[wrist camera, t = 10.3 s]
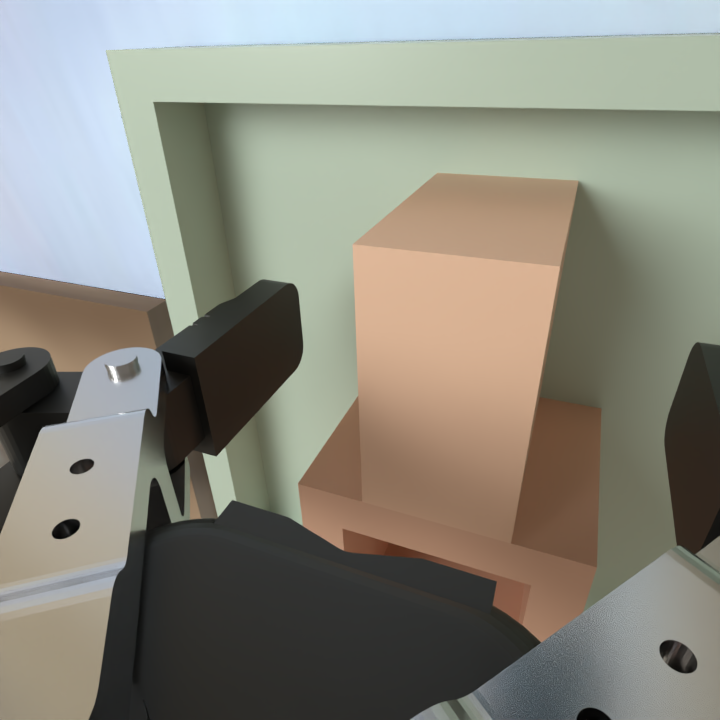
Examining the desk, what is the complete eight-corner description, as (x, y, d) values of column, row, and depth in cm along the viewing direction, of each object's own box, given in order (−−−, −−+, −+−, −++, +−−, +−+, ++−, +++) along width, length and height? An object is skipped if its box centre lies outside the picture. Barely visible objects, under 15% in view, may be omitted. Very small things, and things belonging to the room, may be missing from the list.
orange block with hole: (561, 563, 17) (545, 731, 13) (380, 512, 19) (317, 643, 15) (659, 185, 11) (687, 281, 7) (375, 169, 12) (267, 235, 9)
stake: (-64, 260, 22) (-306, 344, 16) (166, 299, 18) (-44, 428, 12) (35, 472, 29) (-115, 587, 23) (222, 535, 25) (100, 694, 19)
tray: (181, 46, 14) (106, 50, 12) (1103, 22, 8) (1270, 22, 6) (262, 511, 23) (228, 560, 20) (725, 655, 17) (741, 741, 15)
